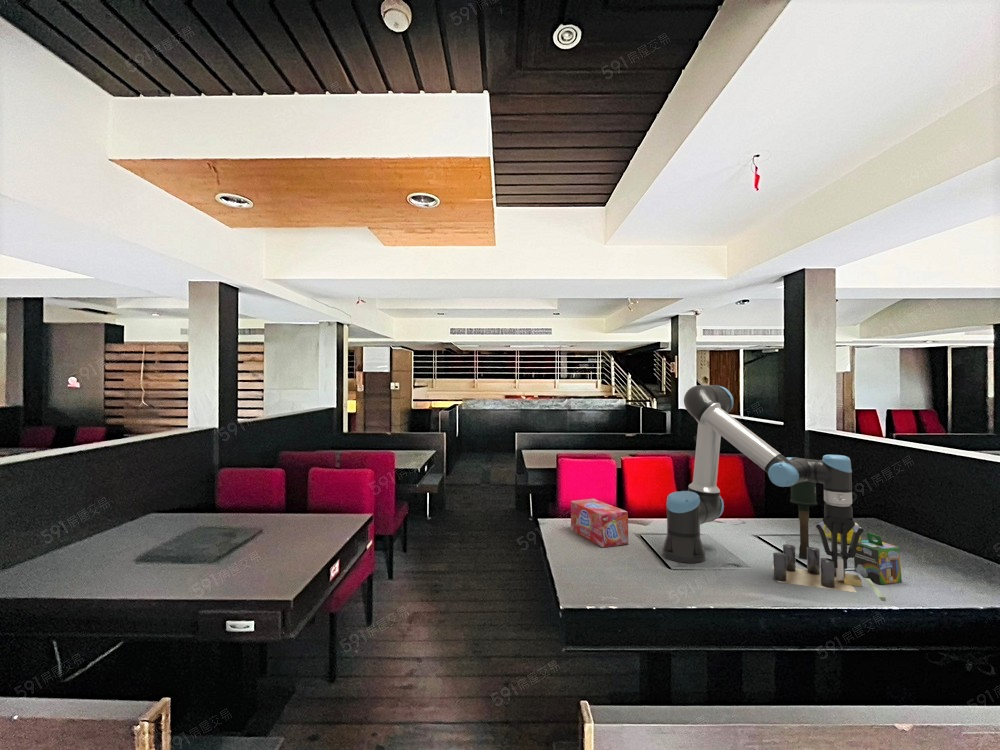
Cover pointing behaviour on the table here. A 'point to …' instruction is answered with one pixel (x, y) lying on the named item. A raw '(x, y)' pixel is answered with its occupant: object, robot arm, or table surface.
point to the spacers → (814, 563)
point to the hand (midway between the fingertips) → (840, 578)
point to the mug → (849, 536)
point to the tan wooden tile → (852, 580)
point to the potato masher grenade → (803, 510)
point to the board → (815, 581)
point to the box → (599, 522)
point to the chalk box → (878, 561)
